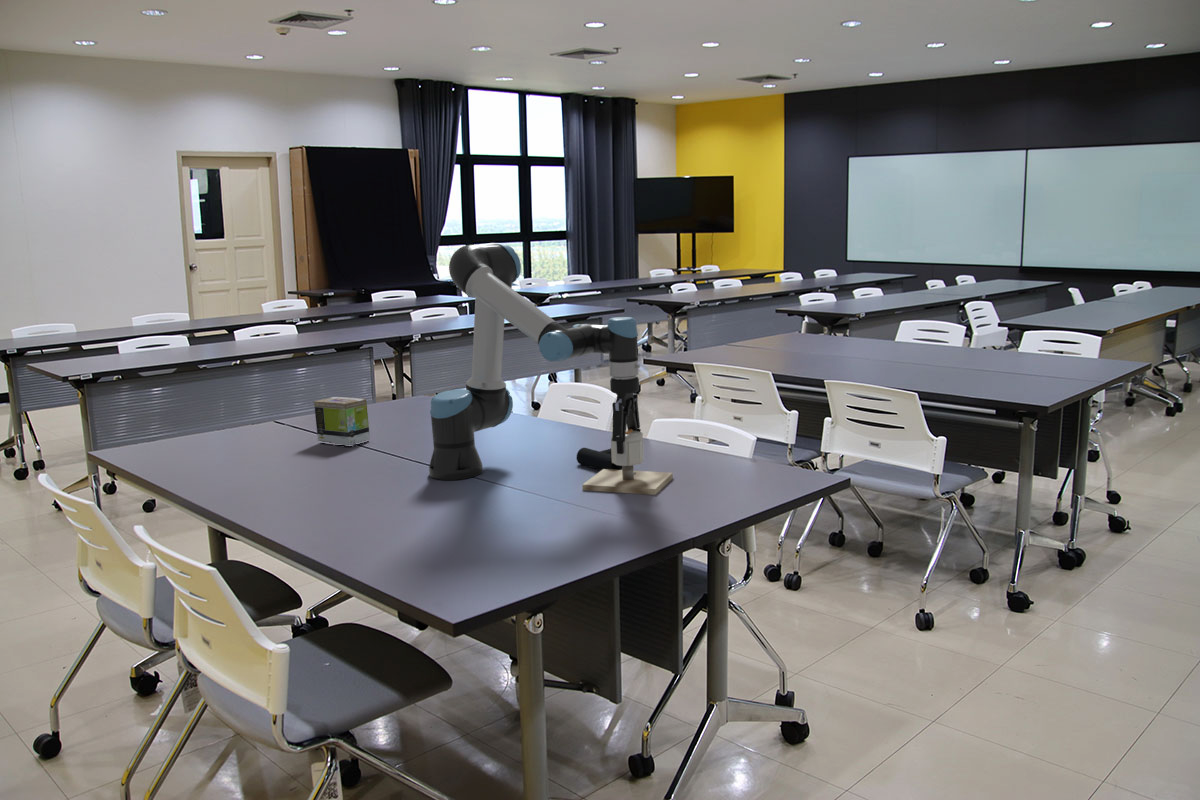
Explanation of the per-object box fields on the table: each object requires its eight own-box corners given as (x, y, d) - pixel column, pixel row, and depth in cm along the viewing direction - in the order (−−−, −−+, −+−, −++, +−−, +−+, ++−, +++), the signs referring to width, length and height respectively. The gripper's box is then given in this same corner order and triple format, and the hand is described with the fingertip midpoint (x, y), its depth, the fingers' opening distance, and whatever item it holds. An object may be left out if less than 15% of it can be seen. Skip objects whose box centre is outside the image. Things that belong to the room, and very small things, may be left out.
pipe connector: (606, 441, 283) (639, 449, 271) (607, 458, 284) (640, 467, 272) (575, 449, 276) (608, 457, 264) (577, 466, 277) (609, 476, 265)
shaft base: (582, 490, 251) (581, 466, 250) (603, 474, 266) (602, 451, 265) (655, 494, 244) (654, 470, 243) (672, 478, 259) (672, 454, 258)
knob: (637, 466, 248) (636, 436, 247) (607, 464, 251) (606, 435, 250) (647, 458, 256) (646, 429, 255) (618, 456, 259) (616, 428, 258)
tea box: (371, 441, 318) (367, 398, 315) (348, 448, 310) (344, 403, 307) (339, 437, 326) (335, 395, 323) (316, 444, 318) (312, 400, 315)
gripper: (624, 384, 238) (628, 472, 243) (650, 370, 258) (652, 451, 262) (596, 383, 241) (600, 470, 245) (623, 370, 261) (626, 450, 265)
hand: (627, 460), depth 254 cm, fingers closed on knob, 8 cm apart
